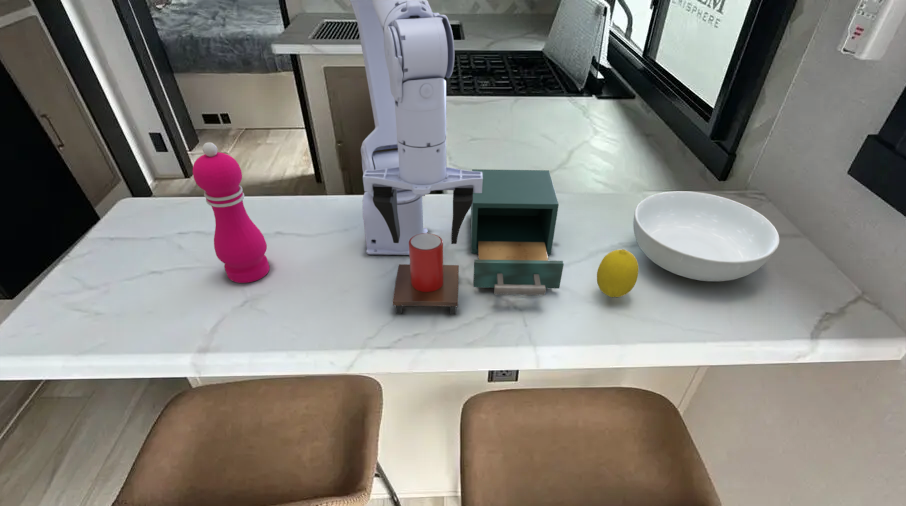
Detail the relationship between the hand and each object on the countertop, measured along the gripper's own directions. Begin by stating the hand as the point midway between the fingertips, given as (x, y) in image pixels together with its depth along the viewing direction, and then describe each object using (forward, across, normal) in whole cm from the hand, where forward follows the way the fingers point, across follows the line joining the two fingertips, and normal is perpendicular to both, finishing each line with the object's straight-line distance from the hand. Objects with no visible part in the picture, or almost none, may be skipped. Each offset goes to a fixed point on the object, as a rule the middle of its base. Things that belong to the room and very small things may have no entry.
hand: (425, 239), depth 68 cm
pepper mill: (+10, -28, +6) cm, 30 cm away
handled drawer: (+8, +13, +5) cm, 16 cm away
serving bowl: (+10, +42, +10) cm, 44 cm away
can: (+7, 0, 0) cm, 7 cm away
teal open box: (+10, +13, +17) cm, 24 cm away
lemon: (+10, +27, 0) cm, 29 cm away
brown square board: (+10, 0, 0) cm, 10 cm away
